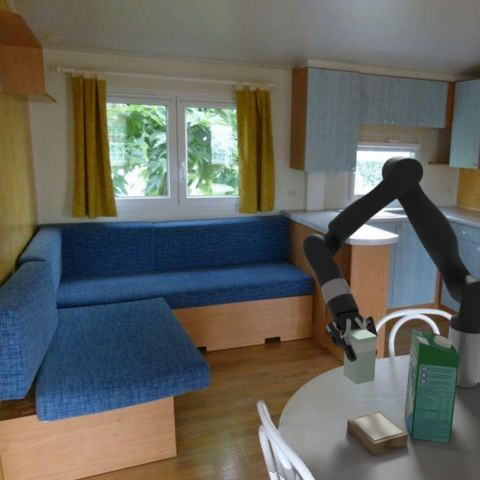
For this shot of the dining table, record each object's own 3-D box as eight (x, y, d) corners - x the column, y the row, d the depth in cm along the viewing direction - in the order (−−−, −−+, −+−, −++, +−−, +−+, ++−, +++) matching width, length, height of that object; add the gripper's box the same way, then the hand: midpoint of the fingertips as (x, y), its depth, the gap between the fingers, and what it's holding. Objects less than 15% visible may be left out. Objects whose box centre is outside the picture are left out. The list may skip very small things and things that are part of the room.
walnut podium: (379, 421, 110) (379, 410, 110) (407, 445, 101) (408, 433, 101) (346, 430, 107) (347, 418, 106) (373, 455, 98) (374, 443, 97)
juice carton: (360, 370, 113) (363, 327, 111) (374, 380, 108) (377, 336, 105) (342, 374, 111) (345, 331, 109) (356, 384, 106) (358, 339, 103)
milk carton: (450, 443, 102) (461, 346, 97) (410, 438, 104) (419, 342, 99) (440, 421, 111) (450, 331, 106) (404, 417, 112) (412, 328, 108)
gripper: (321, 295, 110) (346, 358, 101) (367, 289, 115) (395, 348, 106) (310, 308, 116) (333, 368, 107) (354, 302, 121) (380, 359, 112)
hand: (364, 358), depth 106 cm, fingers closed on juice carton, 5 cm apart
